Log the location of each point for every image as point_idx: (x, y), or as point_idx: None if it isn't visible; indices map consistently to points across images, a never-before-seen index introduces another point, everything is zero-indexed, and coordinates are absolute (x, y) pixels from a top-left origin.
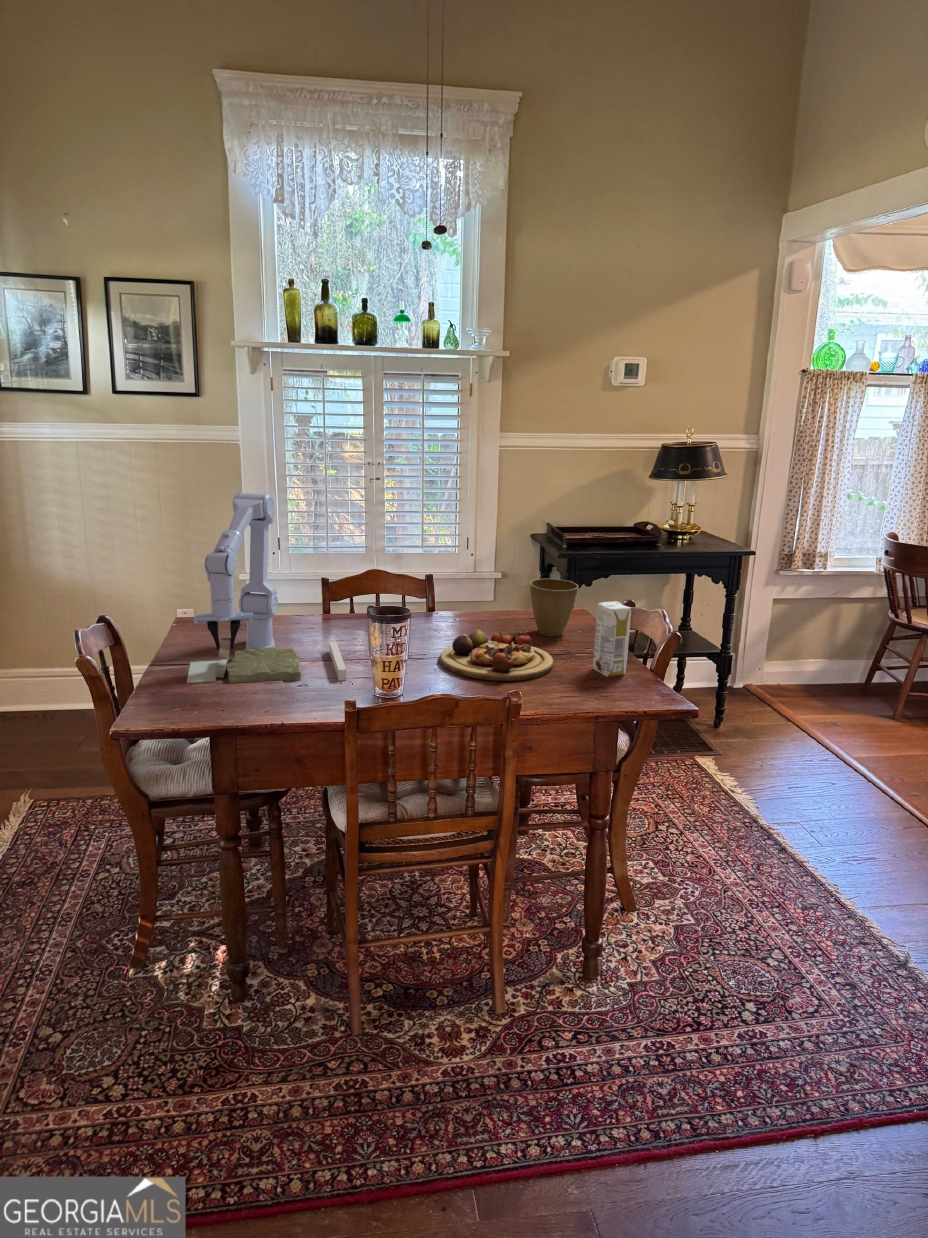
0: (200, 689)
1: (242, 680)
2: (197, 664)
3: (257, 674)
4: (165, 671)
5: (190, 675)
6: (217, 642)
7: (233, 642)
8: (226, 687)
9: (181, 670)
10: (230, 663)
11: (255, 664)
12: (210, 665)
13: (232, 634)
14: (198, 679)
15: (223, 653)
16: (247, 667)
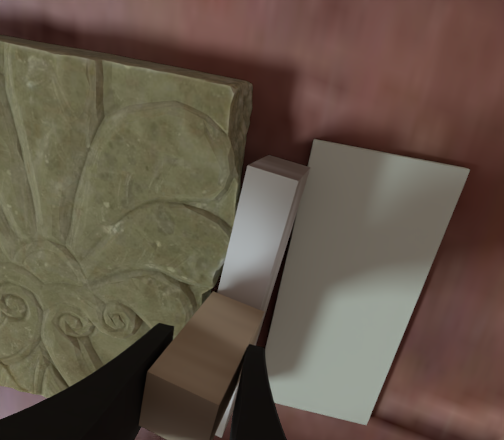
0: (418, 59)
1: (176, 69)
2: (345, 389)
3: (78, 54)
4: (496, 379)
5: (416, 269)
6: (252, 384)
7: (130, 348)
8: (273, 41)
9: (424, 364)
10: (207, 264)
11: (81, 206)
12: (294, 357)
13: (93, 401)
14: (394, 197)
15: (229, 318)
16: (122, 160)
